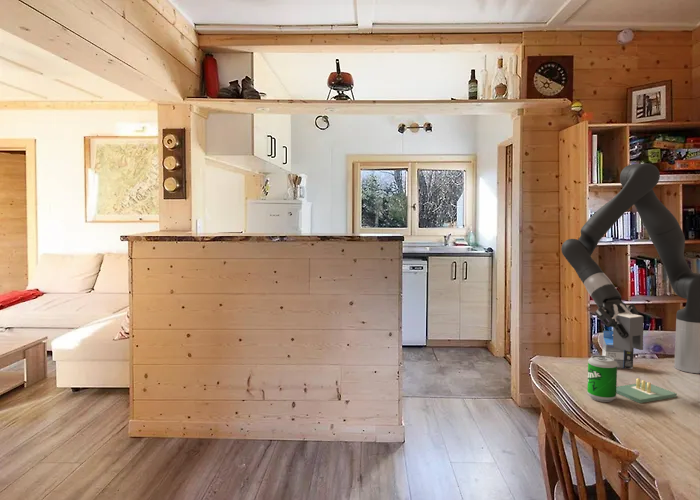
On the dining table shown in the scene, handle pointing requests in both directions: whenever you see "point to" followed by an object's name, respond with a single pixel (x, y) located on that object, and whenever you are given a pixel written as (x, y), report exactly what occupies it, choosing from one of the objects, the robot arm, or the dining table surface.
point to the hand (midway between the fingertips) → (633, 335)
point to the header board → (644, 392)
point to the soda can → (602, 378)
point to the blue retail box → (616, 352)
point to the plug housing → (629, 332)
